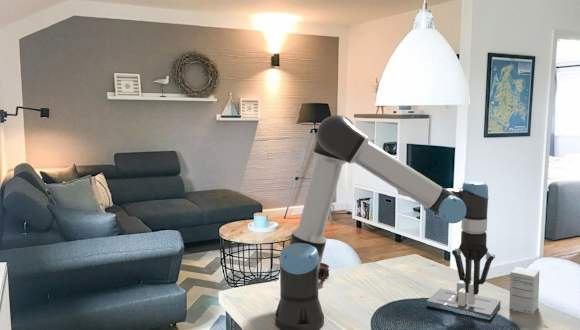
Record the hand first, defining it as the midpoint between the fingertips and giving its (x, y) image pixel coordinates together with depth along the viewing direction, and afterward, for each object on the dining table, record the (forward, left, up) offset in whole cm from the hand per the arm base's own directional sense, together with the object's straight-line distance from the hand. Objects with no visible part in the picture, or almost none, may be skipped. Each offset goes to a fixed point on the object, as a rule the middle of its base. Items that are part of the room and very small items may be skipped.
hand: (471, 303), depth 154 cm
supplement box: (+13, -13, -4) cm, 19 cm away
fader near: (0, +3, -1) cm, 3 cm away
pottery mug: (-1, +57, -4) cm, 57 cm away
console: (+4, +3, -3) cm, 6 cm away
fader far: (+8, +5, -1) cm, 10 cm away
